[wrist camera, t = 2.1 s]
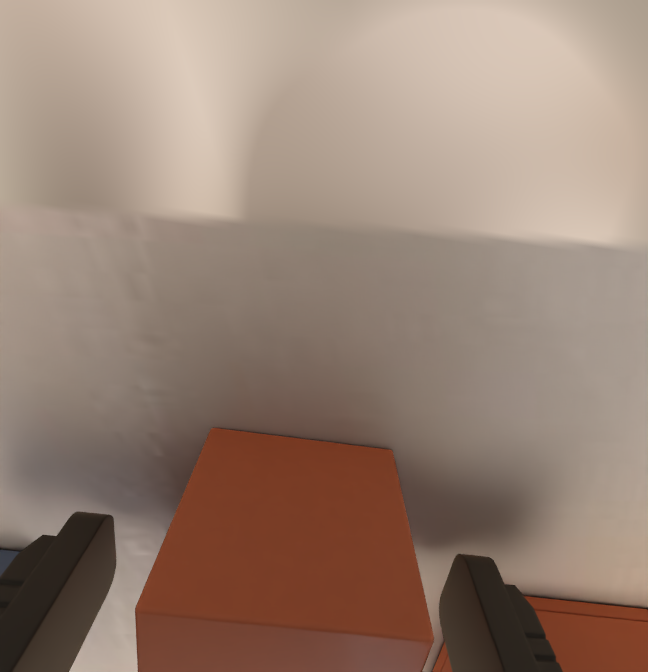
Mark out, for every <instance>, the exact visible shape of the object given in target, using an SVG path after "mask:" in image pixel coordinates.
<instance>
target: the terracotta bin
mask: <svg viewBox="0 0 648 672" xmlns="http://www.w3.org/2000/svg"><path fill="white" fill-rule="evenodd" d="M524 597H525V598H526V600H527V601H528V602H529V603H530V604H531V606H532V607H533V608H534V610H535V612H536V614H537V616H538V619H539V621H540V623H541V625H542V627H543V629H544V632H545V634H546V639H547V640H549V642H550V645H551V647H552V649H553V651H554V653H555V655H556V661H557V662H558V663H559V664H560V666H561V668H562V671H563V672H648V609H641V608H631V607H622V606H613V605H603V604H594V603H585V602H575V601H566V600H557V599H547V598H538V597H529V596H524ZM432 672H452V669H451V665H450V661H449V657H448V653H447V649H446V644H445V642H444V645H443V647H442V649H441V652H440V654H439V657H438V659H437V662H436V664H435V667H434V669H433V671H432Z"/></svg>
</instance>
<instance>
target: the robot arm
mask: <svg viewBox="0 0 648 672" xmlns="http://www.w3.org/2000/svg"><path fill="white" fill-rule="evenodd" d="M115 569H116V549H115V533H114V520H113V517H112V515H106V514H97V513H87V512H75V513H74V514H73V515H72V516H71V517H70V518H69V519H68V521H67V522H66V523H65V525H64V526H63V528H62V529H61V531H60V532H59V533H58V535H57V536H50V535H42V536H41V537H39V538H38V539H37V540H35V541H34V542H33V543H32V544H30V545H29V546H28V547H26V548H25V549H24V550H22V551H21V552H20V553H18V554H17V555H16V557H15V558H14V559H13V561H12V562H11V563H10V564H9V566H8V567H7V568H6V570H5V571H4V572H3V574H2V575H1V576H0V672H69V670H70V668H71V666H72V664H73V662H74V660H75V658H76V656H77V654H78V652H79V650H80V648H81V646H82V644H83V642H84V640H85V638H86V636H87V634H88V632H89V630H90V628H91V626H92V624H93V622H94V620H95V618H96V616H97V614H98V612H99V610H100V608H101V606H102V604H103V602H104V600H105V598H106V596H107V594H108V591H109V589H110V587H111V584H112V581H113V578H114V574H115ZM439 616H440V624H441V628H442V632H443V636H444V640H445V644H446V649H447V653H448V657H449V661H450V665H451V669H452V672H563V671H562V668H561V666H560V664H559V663H558V662H557V661H556V655H555V653H554V651H553V649H552V647H551V645H550V642H549V640H547V639H546V634H545V632H544V629H543V627H542V625H541V623H540V621H539V619H538V616H537V614H536V612H535V610H534V608H533V607H532V606H531V604H530V603H529V602H528V601H527V600H526V598H525V597H524V596H523V595H522V593H521V592H520V591H519V590H518V589H517V587H516V586H515V585H507V584H504V582H503V580H502V578H501V575H500V573H499V570H498V568H497V566H496V564H495V562H494V560H493V559H492V558H490V557H484V556H475V555H465V554H458V555H456V557H455V559H454V561H453V564H452V567H451V569H450V572H449V575H448V577H447V580H446V583H445V586H444V588H443V591H442V594H441V597H440V603H439Z"/></svg>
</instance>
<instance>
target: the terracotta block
mask: <svg viewBox="0 0 648 672" xmlns="http://www.w3.org/2000/svg"><path fill="white" fill-rule="evenodd" d="M135 616H136V638H137V660H138V672H422V670H423V667H424V665H425V662H426V660H427V657H428V655H429V652H430V650H431V647H432V644H433V642H434V635H433V631H432V626H431V622H430V617H429V613H428V608H427V604H426V599H425V595H424V590H423V586H422V581H421V577H420V572H419V568H418V563H417V559H416V554H415V550H414V545H413V541H412V536H411V532H410V527H409V523H408V518H407V514H406V509H405V505H404V500H403V496H402V491H401V487H400V482H399V477H398V473H397V468H396V464H395V459H394V455H393V451H392V450H389V449H381V448H373V447H364V446H356V445H348V444H340V443H332V442H324V441H316V440H308V439H300V438H292V437H284V436H276V435H267V434H259V433H251V432H243V431H235V430H227V429H219V428H212V429H211V430H210V432H209V434H208V437H207V439H206V441H205V444H204V446H203V448H202V451H201V453H200V456H199V458H198V460H197V463H196V465H195V467H194V470H193V472H192V475H191V477H190V479H189V482H188V484H187V486H186V489H185V491H184V494H183V496H182V498H181V501H180V503H179V505H178V508H177V510H176V513H175V515H174V517H173V520H172V522H171V524H170V527H169V529H168V532H167V534H166V536H165V539H164V541H163V544H162V546H161V548H160V551H159V553H158V555H157V558H156V560H155V563H154V565H153V567H152V570H151V572H150V574H149V577H148V579H147V582H146V584H145V586H144V589H143V591H142V593H141V596H140V598H139V601H138V603H137V605H136V608H135Z"/></svg>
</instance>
